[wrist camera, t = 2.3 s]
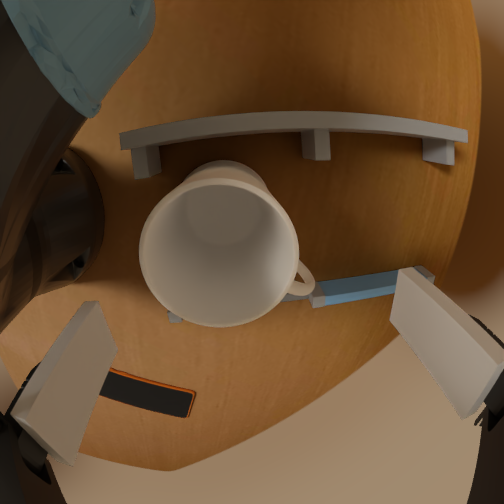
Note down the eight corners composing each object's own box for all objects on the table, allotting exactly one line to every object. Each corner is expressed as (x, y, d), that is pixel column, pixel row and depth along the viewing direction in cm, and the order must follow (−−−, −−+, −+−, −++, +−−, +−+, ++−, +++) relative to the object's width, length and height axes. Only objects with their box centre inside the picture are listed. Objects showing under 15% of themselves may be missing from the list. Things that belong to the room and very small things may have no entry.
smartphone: (188, 415, 36) (187, 420, 35) (86, 386, 33) (84, 390, 32) (196, 388, 33) (195, 393, 33) (81, 354, 30) (79, 358, 30)
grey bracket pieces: (175, 306, 28) (164, 342, 22) (144, 135, 21) (119, 133, 16) (419, 274, 29) (448, 298, 23) (429, 128, 23) (467, 130, 17)
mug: (315, 218, 25) (375, 275, 14) (260, 285, 28) (278, 372, 17) (212, 141, 22) (195, 135, 11) (159, 218, 24) (108, 277, 13)
